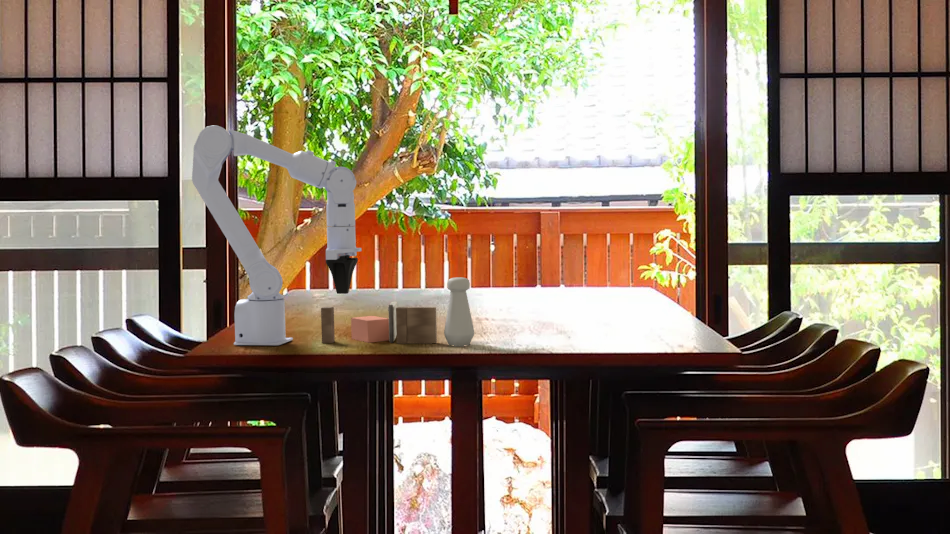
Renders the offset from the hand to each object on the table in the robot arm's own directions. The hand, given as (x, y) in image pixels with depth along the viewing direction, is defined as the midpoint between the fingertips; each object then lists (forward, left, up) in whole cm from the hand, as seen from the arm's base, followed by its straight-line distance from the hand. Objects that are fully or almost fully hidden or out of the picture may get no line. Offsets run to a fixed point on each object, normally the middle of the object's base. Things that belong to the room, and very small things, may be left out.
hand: (342, 293), depth 190 cm
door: (+10, +2, -9) cm, 14 cm away
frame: (+8, -4, -9) cm, 13 cm away
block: (+6, 0, -10) cm, 11 cm away
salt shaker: (+25, -6, -10) cm, 27 cm away
